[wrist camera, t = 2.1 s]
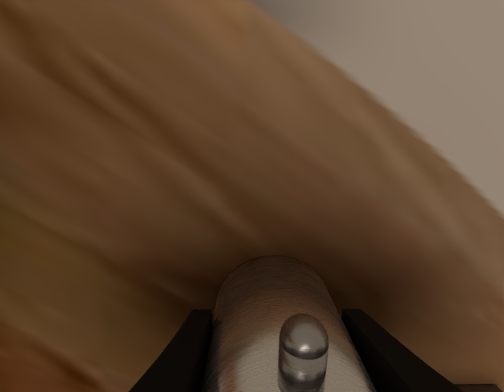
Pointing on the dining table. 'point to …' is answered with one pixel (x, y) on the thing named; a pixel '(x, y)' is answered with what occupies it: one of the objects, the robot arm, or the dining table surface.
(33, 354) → the dining table surface
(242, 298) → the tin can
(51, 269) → the dining table surface
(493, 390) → the grey and gold fixture
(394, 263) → the dining table surface
